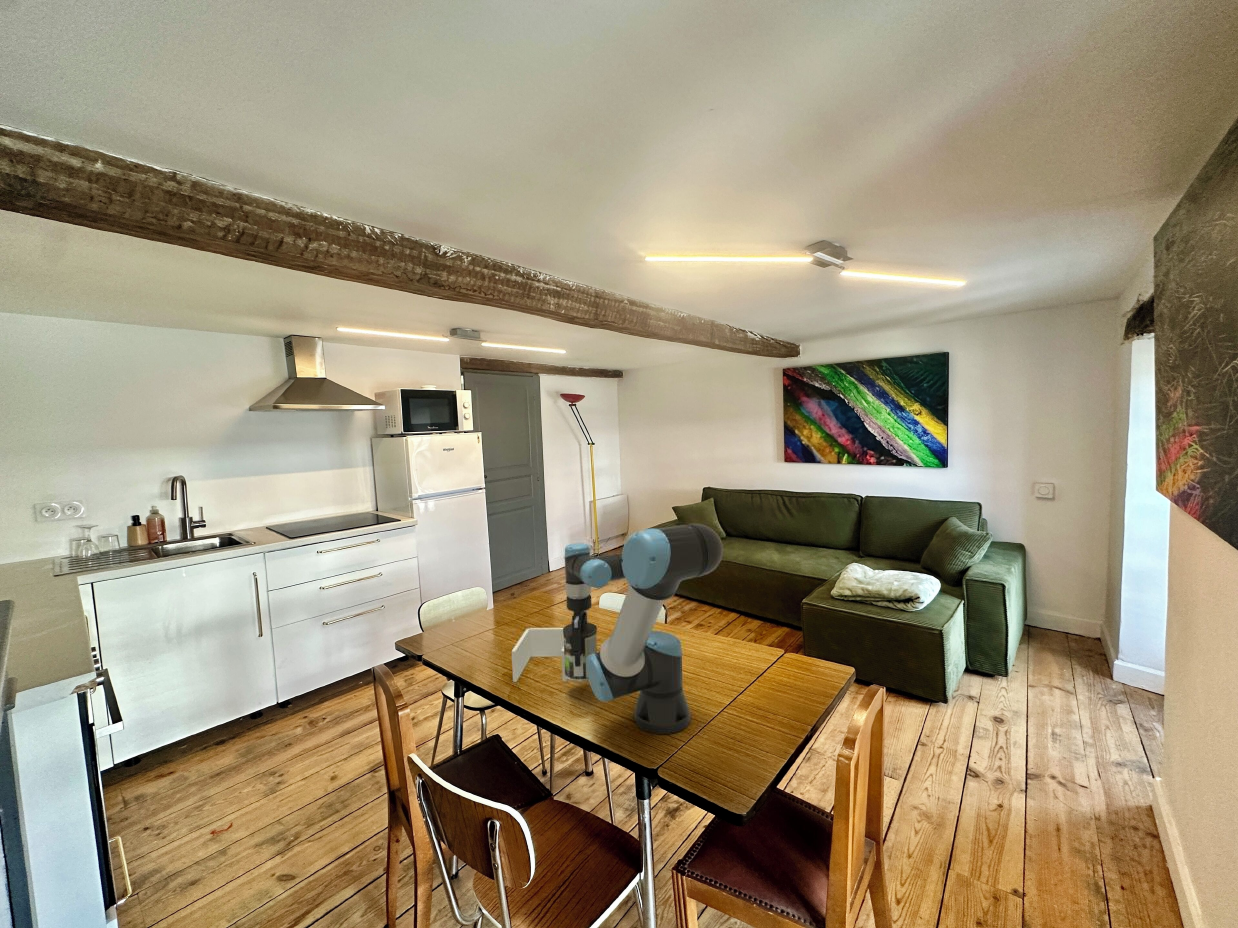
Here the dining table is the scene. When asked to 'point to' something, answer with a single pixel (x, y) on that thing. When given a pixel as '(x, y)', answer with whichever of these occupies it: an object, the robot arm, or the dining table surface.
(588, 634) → the coffee can
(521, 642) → the white u-shaped bracket
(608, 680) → the robot arm
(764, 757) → the dining table surface
